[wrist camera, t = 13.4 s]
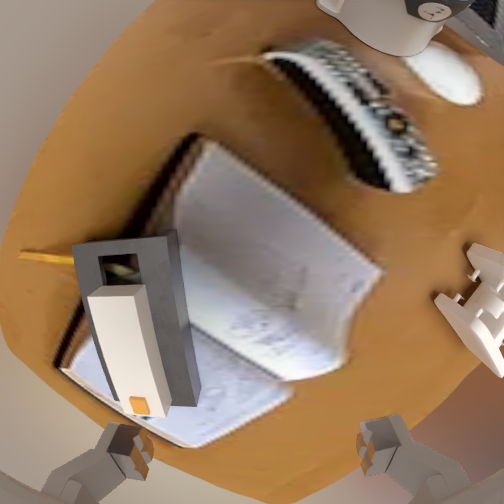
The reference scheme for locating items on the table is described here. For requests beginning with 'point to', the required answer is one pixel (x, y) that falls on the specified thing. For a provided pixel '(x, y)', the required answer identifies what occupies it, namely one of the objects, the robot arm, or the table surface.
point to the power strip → (131, 348)
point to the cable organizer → (480, 308)
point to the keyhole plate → (160, 301)
